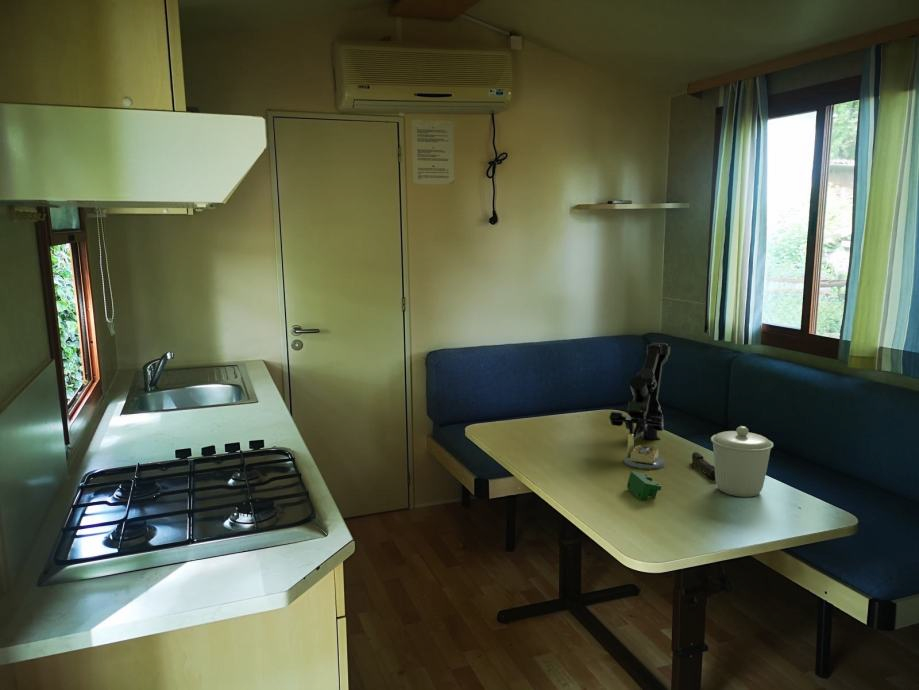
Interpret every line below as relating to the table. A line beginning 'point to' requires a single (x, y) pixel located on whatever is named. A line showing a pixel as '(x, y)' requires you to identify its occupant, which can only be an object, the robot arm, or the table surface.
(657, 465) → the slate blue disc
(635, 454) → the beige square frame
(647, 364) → the robot arm
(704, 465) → the dark brown log
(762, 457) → the canister
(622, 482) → the table surface
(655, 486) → the green mounting bracket
